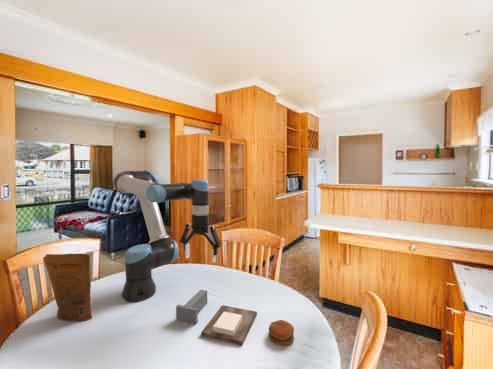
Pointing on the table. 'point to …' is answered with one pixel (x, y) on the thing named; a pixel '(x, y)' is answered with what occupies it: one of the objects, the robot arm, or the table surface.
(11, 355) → the table surface
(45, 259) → the pancake mix bag
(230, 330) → the tile
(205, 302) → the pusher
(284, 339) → the burger
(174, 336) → the table surface
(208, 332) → the walnut board
